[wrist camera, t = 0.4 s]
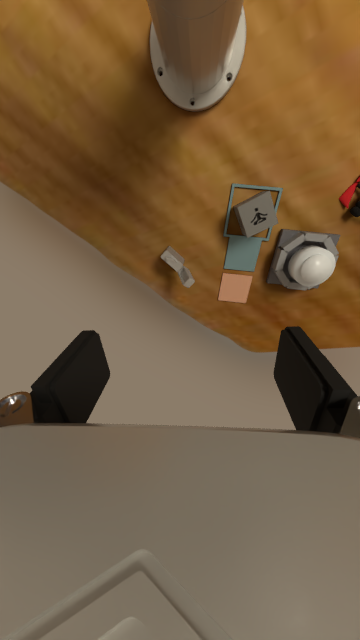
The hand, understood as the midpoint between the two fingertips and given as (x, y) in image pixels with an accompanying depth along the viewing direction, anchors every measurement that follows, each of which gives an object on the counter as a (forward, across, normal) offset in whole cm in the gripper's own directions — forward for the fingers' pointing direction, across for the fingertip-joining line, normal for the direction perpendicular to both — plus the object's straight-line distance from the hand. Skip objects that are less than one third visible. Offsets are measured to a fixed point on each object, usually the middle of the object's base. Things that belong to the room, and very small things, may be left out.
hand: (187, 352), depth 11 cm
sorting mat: (+34, -9, +2) cm, 36 cm away
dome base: (+34, -20, +4) cm, 40 cm away
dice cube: (+35, -10, -4) cm, 36 cm away
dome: (+31, -20, +4) cm, 37 cm away
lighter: (+35, +4, +3) cm, 35 cm away
